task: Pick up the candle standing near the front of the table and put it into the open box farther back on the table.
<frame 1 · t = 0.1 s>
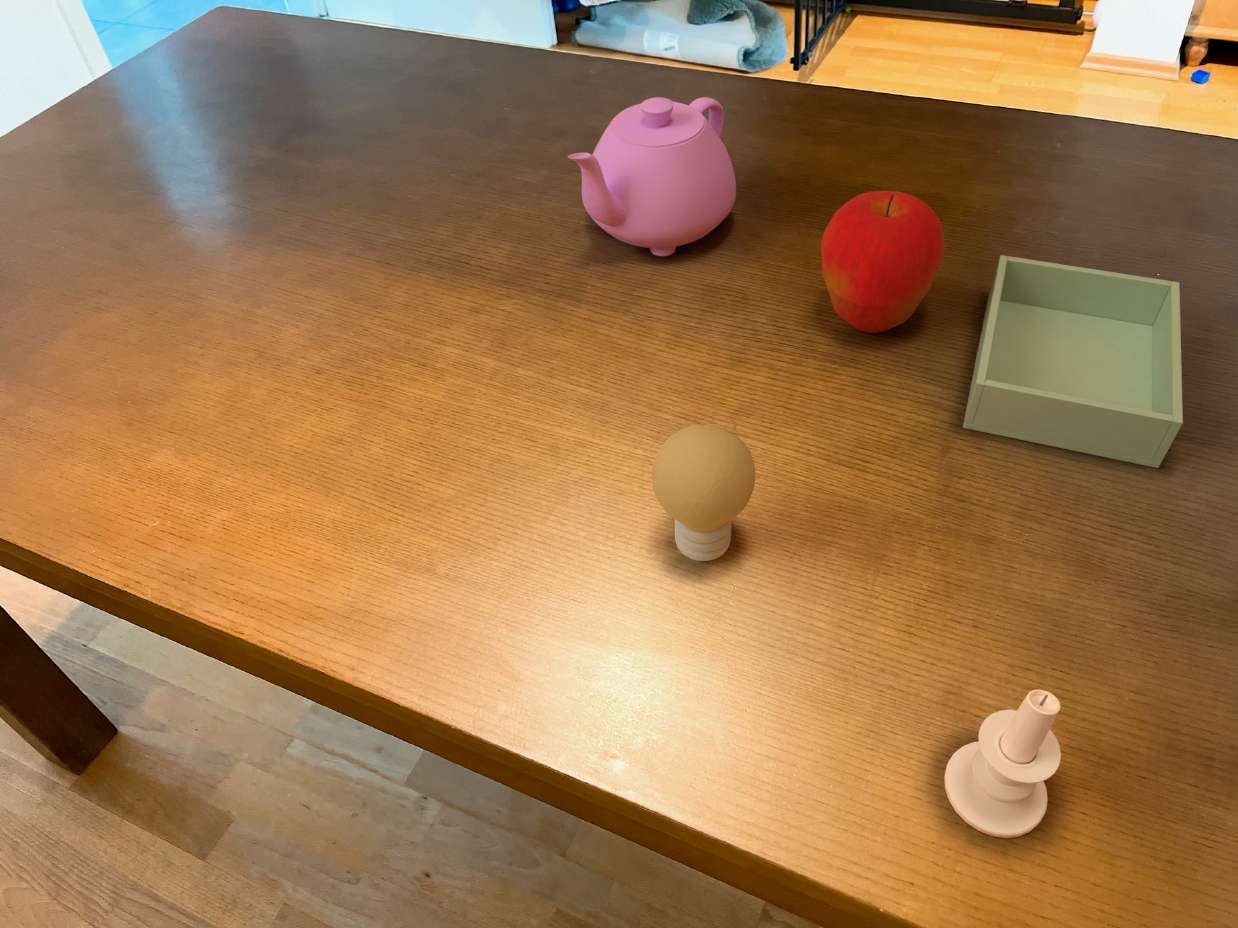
candle: (993, 791, 50), on the table
light bulb: (702, 545, 62), on the table
apple: (868, 322, 77), on the table
open box: (1064, 375, 71), on the table
teapot: (654, 230, 89), on the table
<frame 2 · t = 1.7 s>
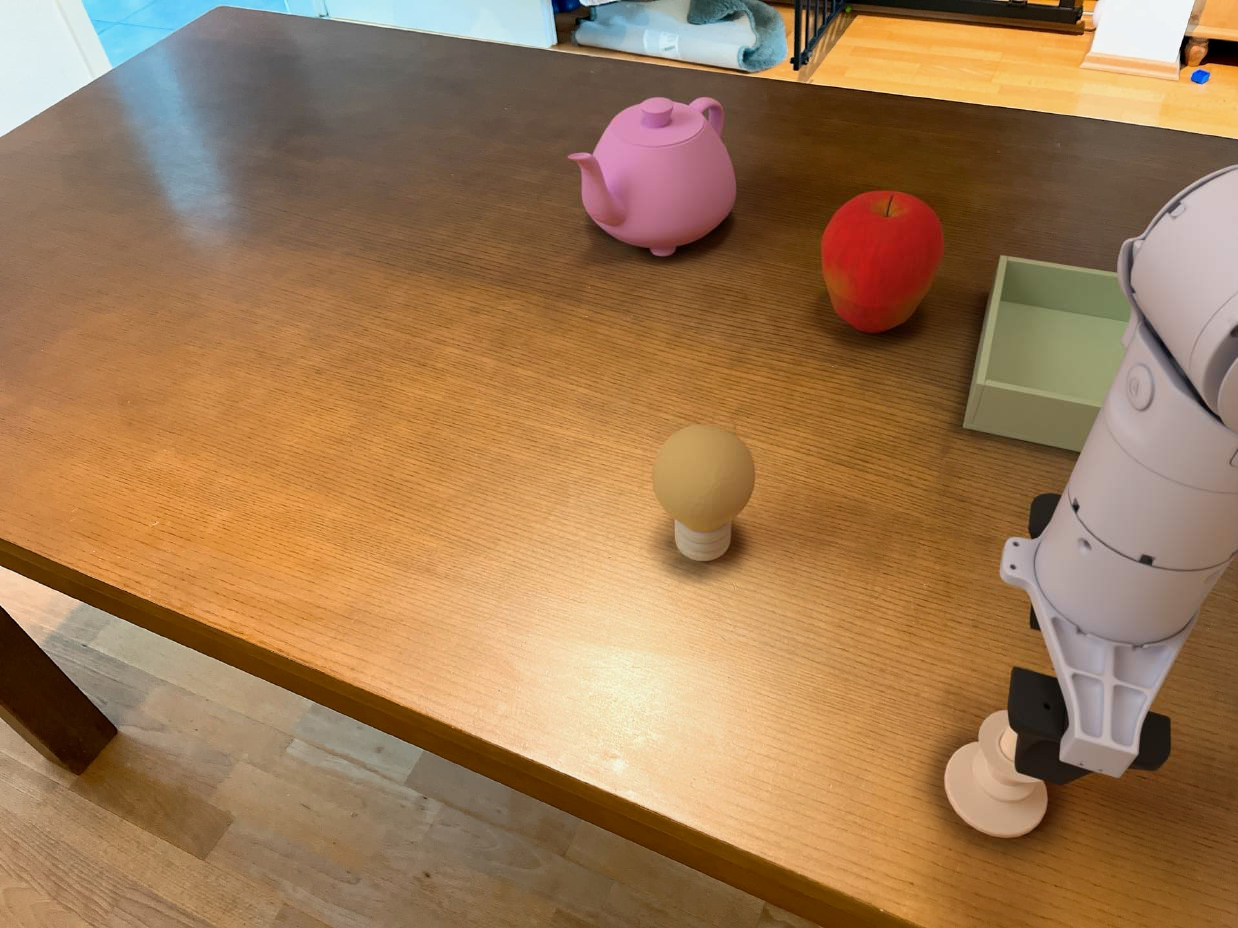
hand: (1046, 696, 42), 10 cm above the table, tool pointing down, fingers open, 7 cm apart
nothing on the table moved.
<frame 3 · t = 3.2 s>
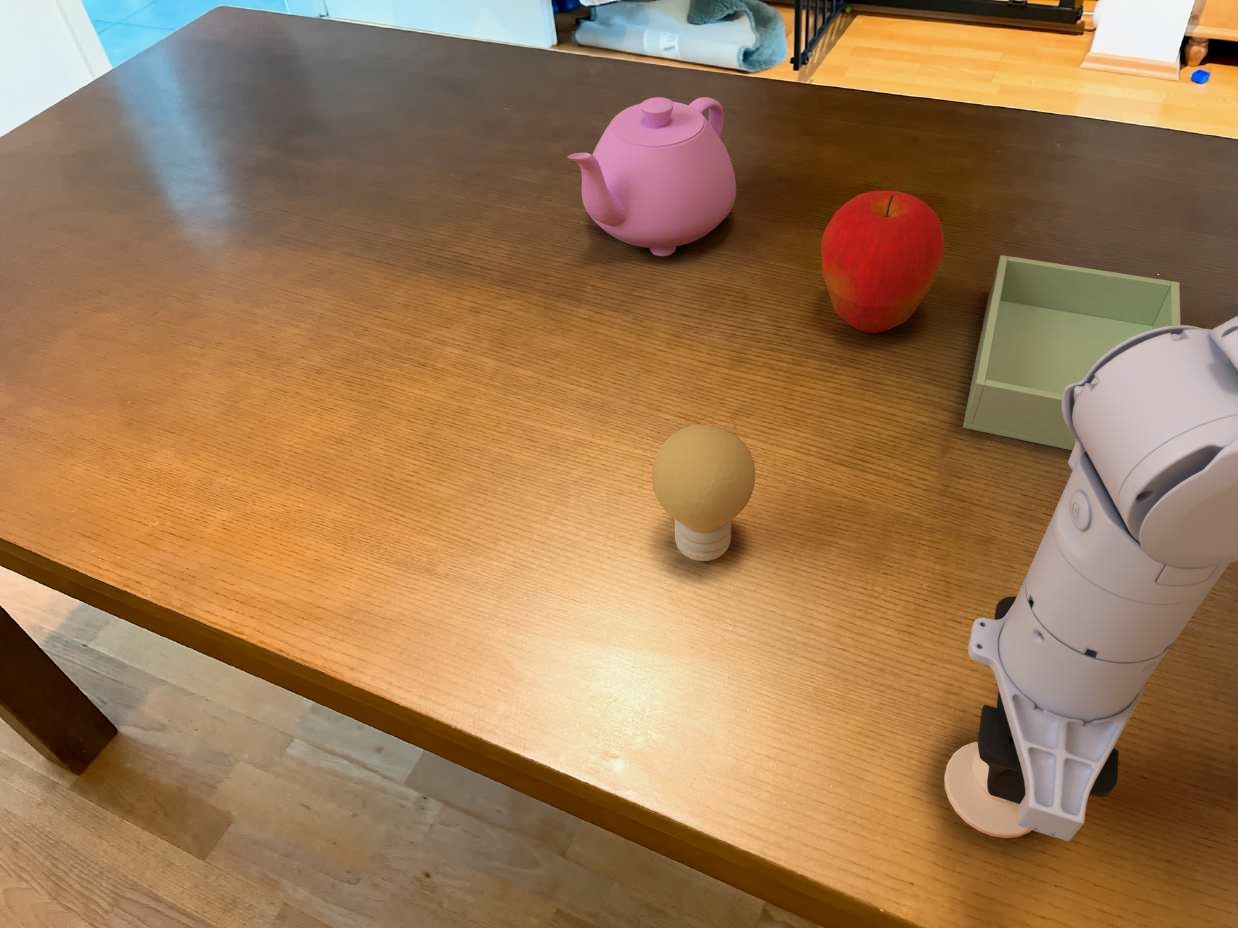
hand: (1014, 753, 47), 4 cm above the table, tool pointing down, fingers closed on candle, 4 cm apart
candle: (993, 791, 50), on the table, touching gripper
everything else where it was.
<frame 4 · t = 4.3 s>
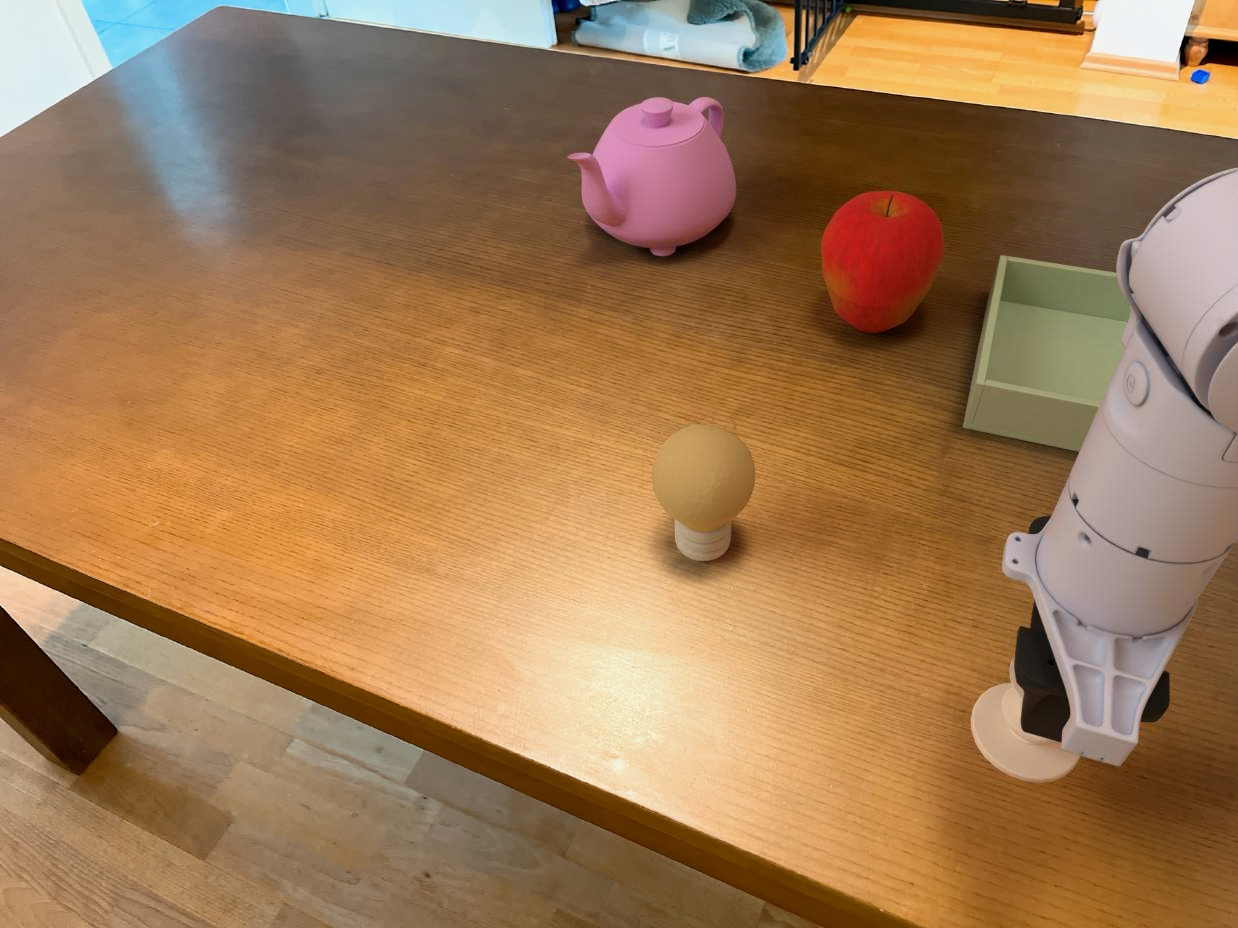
hand: (1048, 688, 43), 10 cm above the table, tool pointing down, fingers closed on candle, 4 cm apart
candle: (1023, 735, 46), point 5 cm above the table, touching gripper
everything else where it was.
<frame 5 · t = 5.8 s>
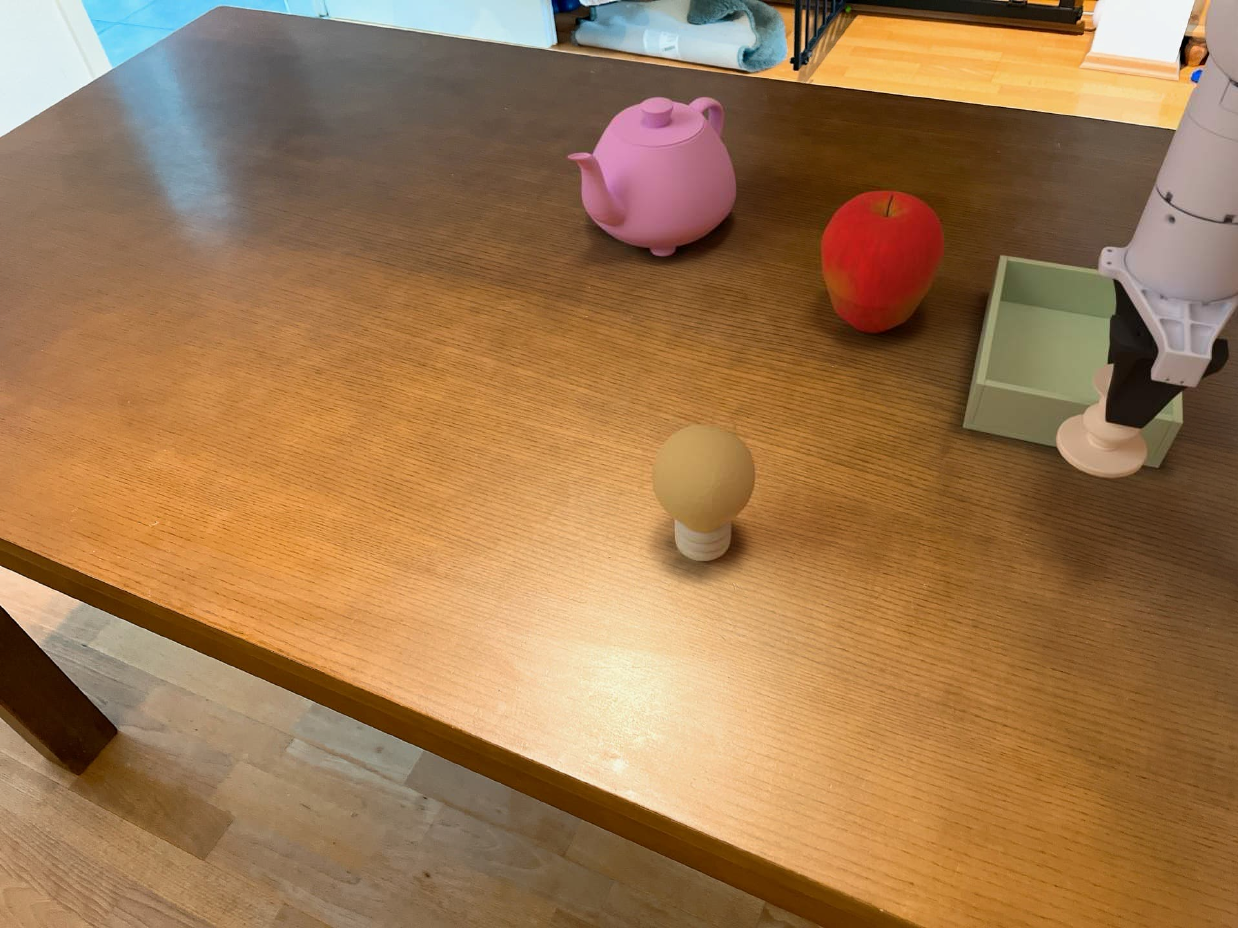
hand: (1124, 396, 55), 10 cm above the table, tool pointing down, fingers closed on candle, 4 cm apart
candle: (1098, 450, 58), point 6 cm above the table, touching gripper
everything else where it was.
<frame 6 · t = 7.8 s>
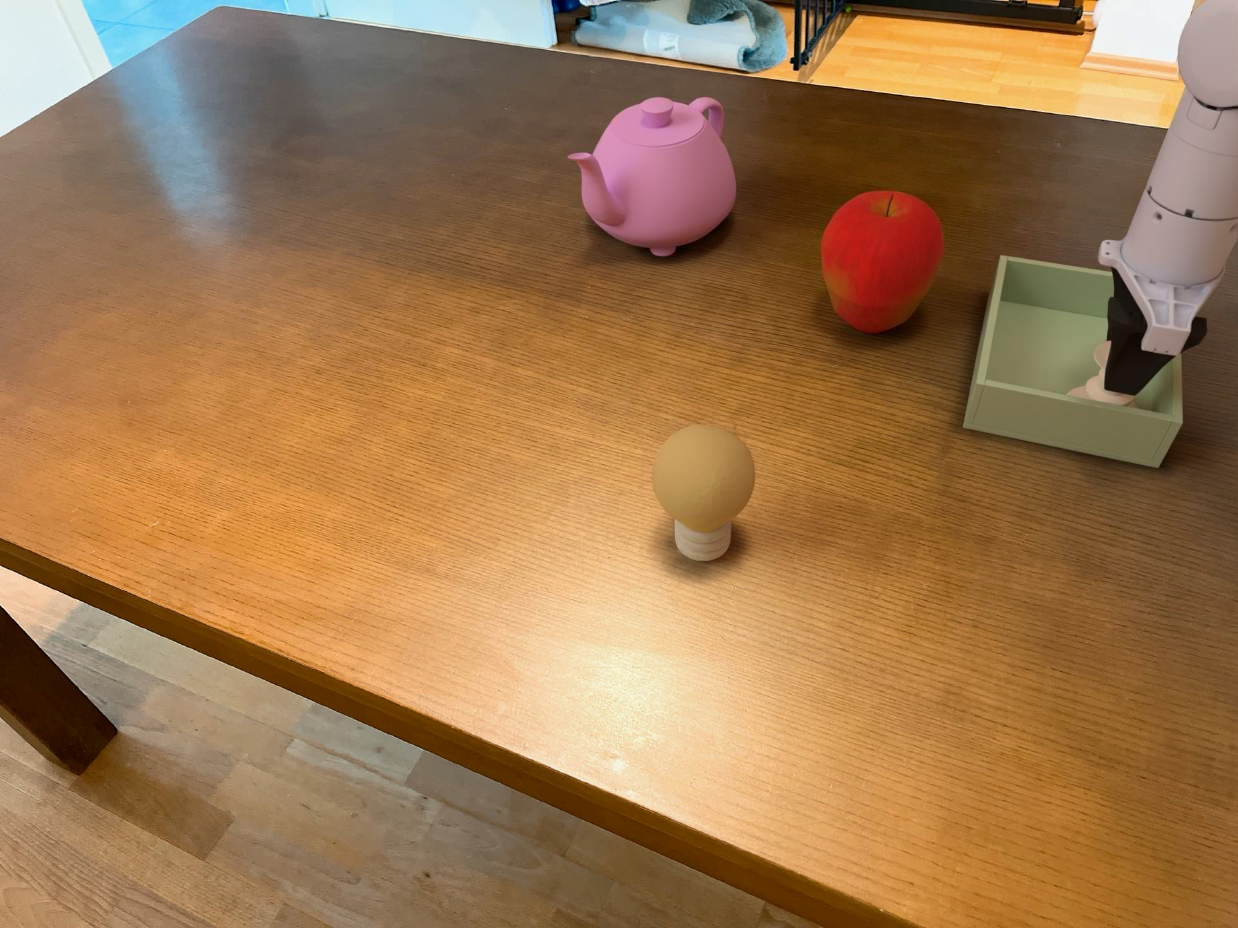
hand: (1120, 368, 64), 5 cm above the table, tool pointing down, fingers closed on candle, 4 cm apart
candle: (1098, 416, 67), point 1 cm above the table, touching gripper
everything else where it was.
when the fingers open (5 cm above the table, at t = 8.3 s): candle moves 1 cm, resting on open box.
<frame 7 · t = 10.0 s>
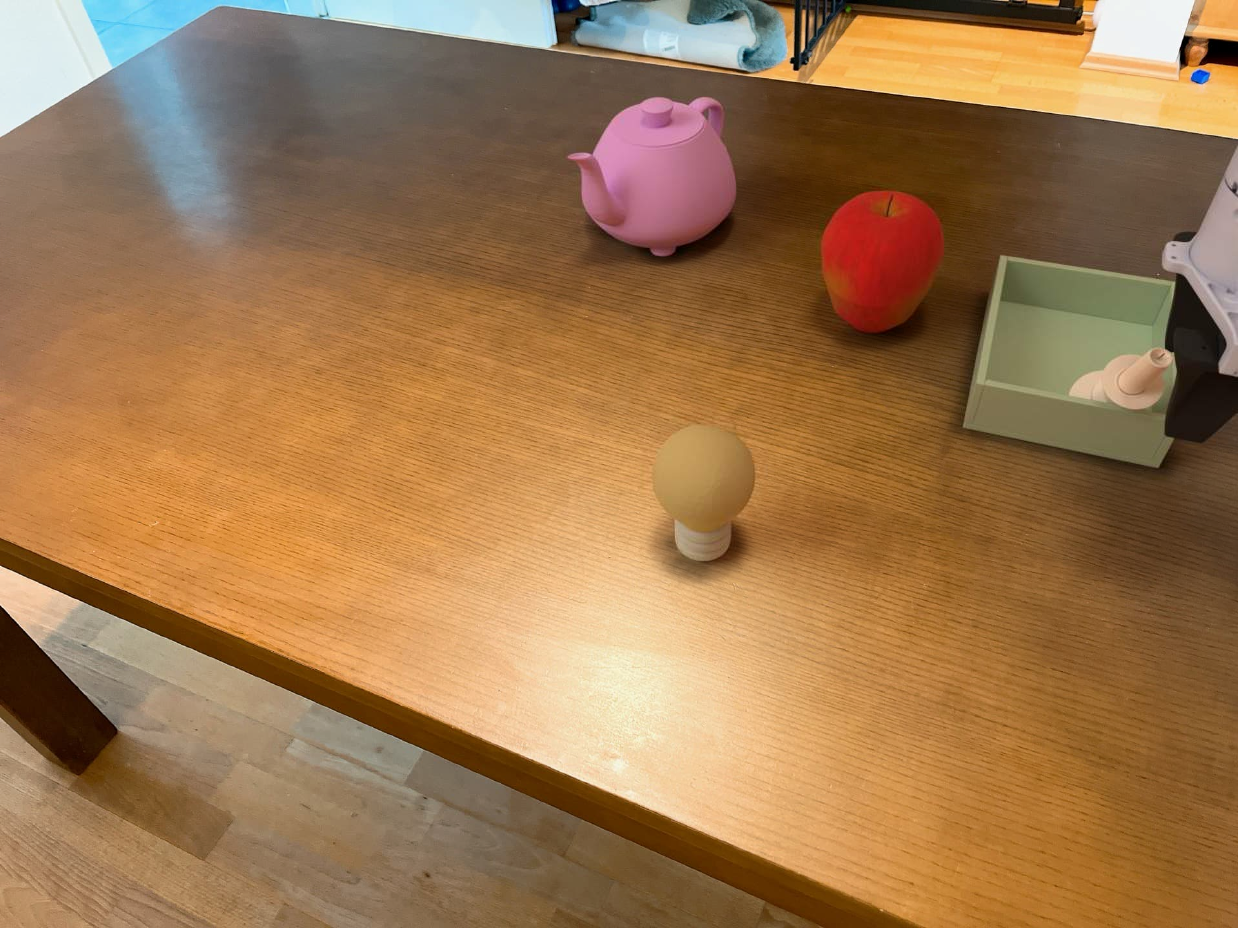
hand: (1182, 391, 55), 10 cm above the table, tool pointing down, fingers open, 7 cm apart
candle: (1103, 407, 67), point 2 cm above the table, touching gripper, open box
everything else where it was.
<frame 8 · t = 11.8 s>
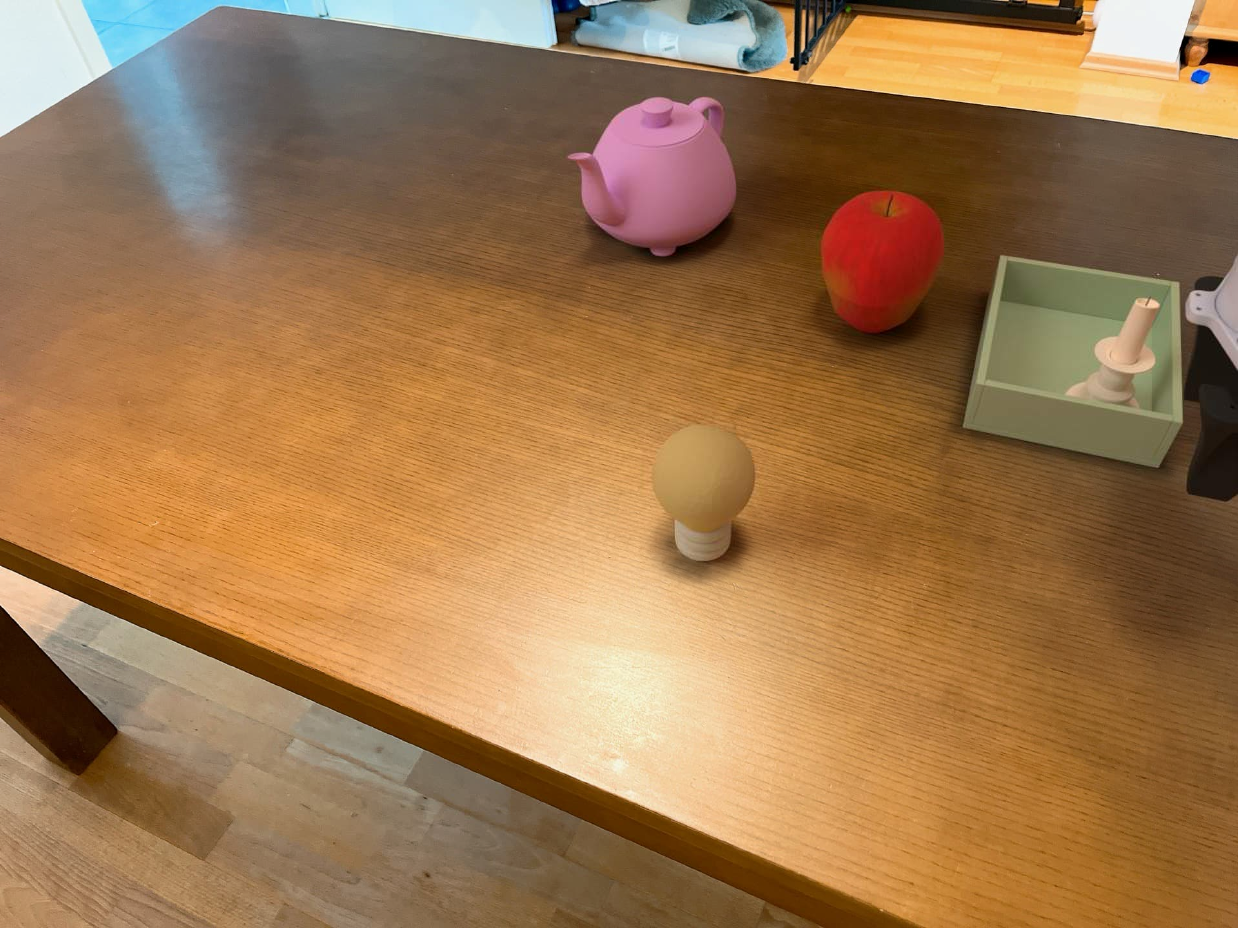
hand: (1204, 444, 52), 10 cm above the table, tool pointing down, fingers open, 7 cm apart
candle: (1099, 411, 68), resting on open box
everything else where it was.
at the end: candle inside the target area in the open box (4.5 cm from its centre), point 0.3 cm above the open box's base; the gripper is holding nothing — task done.
